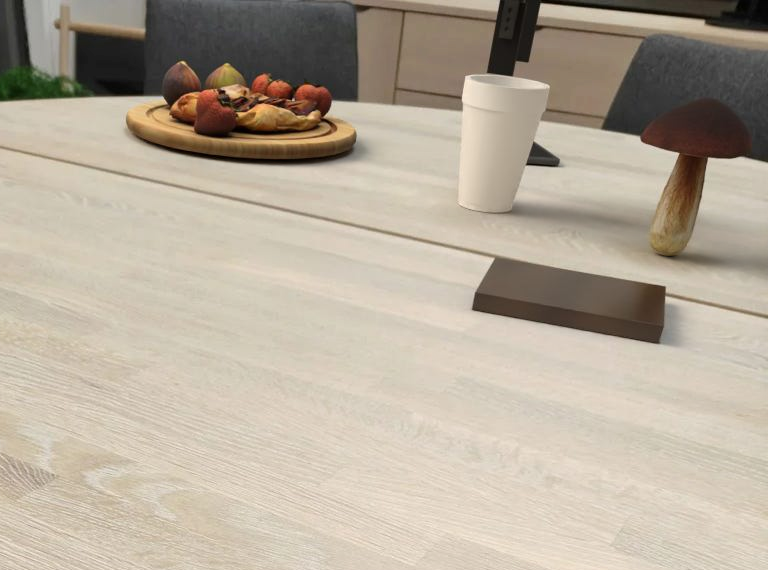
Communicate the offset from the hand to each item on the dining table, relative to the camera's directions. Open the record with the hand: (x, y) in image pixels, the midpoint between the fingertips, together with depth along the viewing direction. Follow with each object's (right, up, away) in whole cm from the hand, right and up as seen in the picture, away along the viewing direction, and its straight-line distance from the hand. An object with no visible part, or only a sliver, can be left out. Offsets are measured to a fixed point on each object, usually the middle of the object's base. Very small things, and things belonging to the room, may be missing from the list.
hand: (508, 67), depth 110 cm
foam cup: (-1, -12, +9) cm, 15 cm away
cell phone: (+10, +8, +36) cm, 38 cm away
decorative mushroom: (+16, -22, -3) cm, 27 cm away
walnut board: (+1, -33, -20) cm, 38 cm away
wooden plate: (-31, +7, +29) cm, 43 cm away
